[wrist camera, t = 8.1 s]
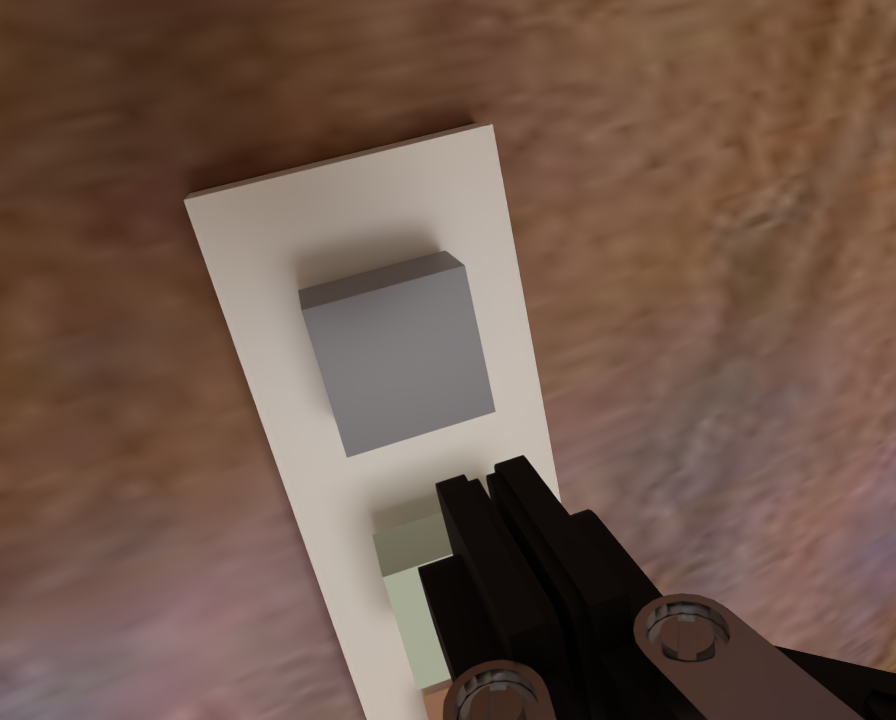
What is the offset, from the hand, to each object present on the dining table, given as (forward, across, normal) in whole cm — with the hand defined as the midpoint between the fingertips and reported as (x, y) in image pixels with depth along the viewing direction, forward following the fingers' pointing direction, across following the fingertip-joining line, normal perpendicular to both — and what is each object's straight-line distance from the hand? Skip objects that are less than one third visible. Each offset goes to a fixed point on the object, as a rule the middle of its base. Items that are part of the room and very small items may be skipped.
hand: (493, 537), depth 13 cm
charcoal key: (+12, 0, 0) cm, 12 cm away
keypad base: (+15, 0, +9) cm, 17 cm away
